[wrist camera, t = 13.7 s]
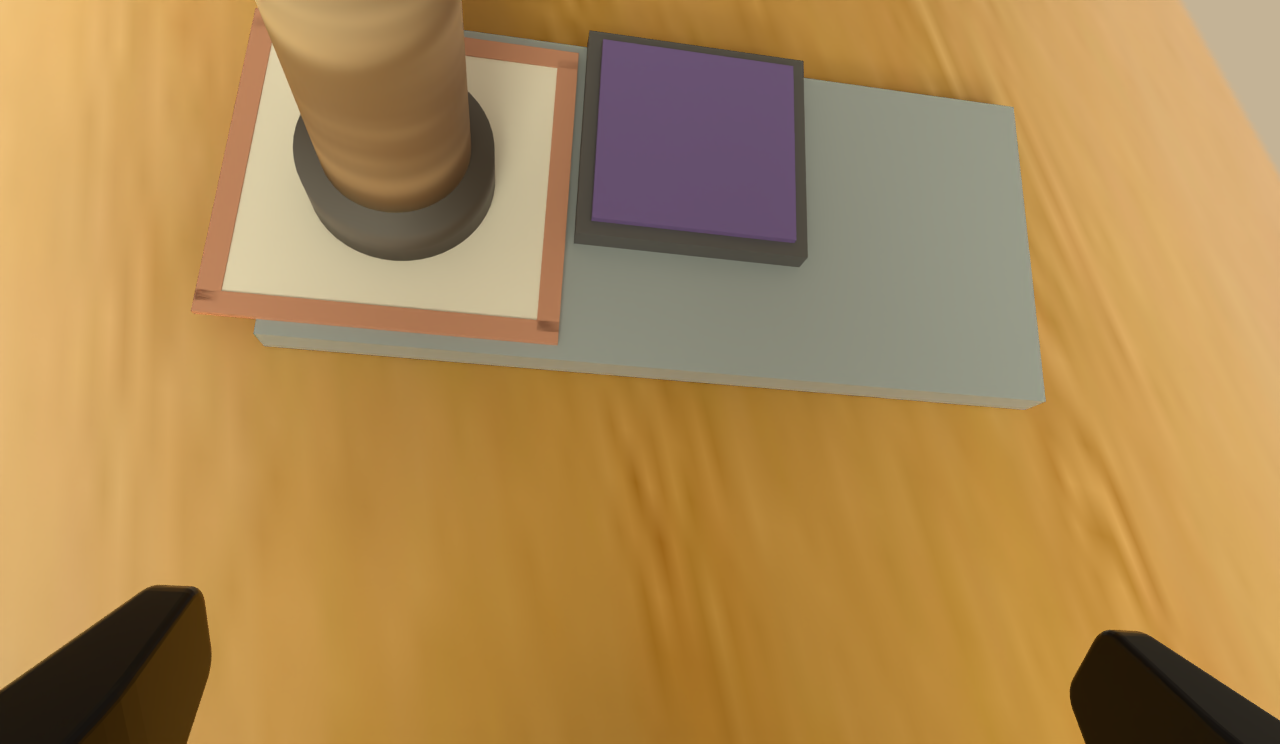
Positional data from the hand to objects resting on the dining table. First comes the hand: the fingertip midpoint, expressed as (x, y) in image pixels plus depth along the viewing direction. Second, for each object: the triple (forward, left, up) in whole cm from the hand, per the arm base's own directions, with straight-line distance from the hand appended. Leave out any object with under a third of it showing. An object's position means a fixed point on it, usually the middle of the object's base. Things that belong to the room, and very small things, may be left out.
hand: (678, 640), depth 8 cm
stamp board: (+9, +8, -14) cm, 18 cm away
